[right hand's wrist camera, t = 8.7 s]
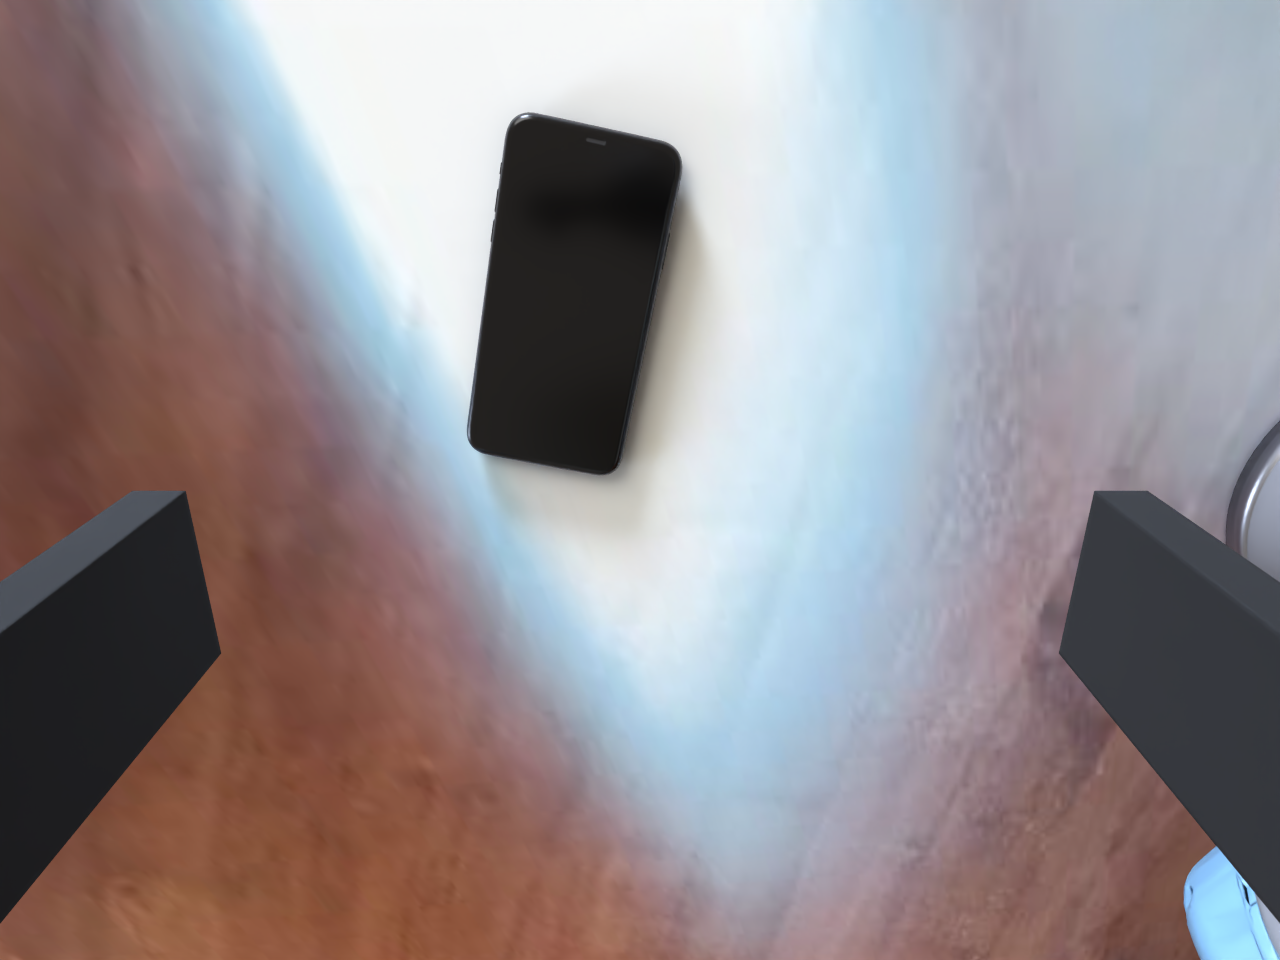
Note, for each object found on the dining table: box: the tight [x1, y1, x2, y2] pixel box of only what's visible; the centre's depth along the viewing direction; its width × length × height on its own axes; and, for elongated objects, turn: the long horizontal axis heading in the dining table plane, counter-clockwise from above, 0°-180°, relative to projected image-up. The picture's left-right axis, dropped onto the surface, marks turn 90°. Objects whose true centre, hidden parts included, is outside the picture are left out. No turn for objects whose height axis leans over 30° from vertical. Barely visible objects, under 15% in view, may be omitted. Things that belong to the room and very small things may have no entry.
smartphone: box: [467, 113, 682, 475], centre depth 39 cm, size 8×1×16 cm
